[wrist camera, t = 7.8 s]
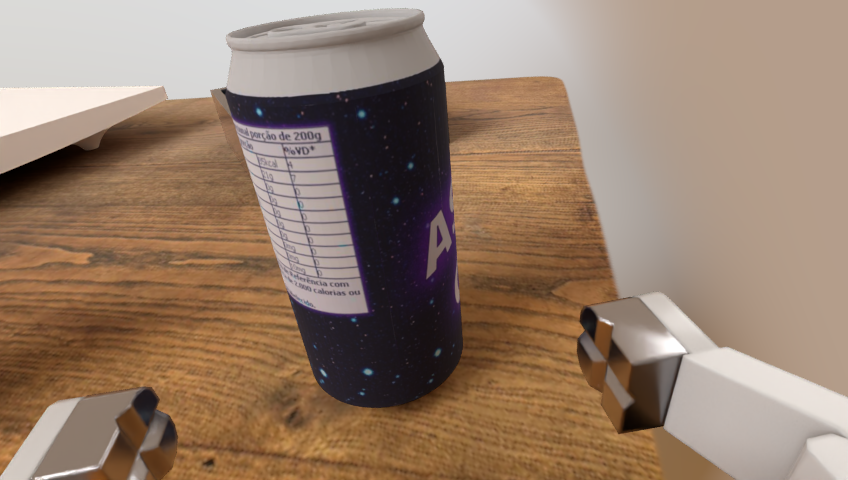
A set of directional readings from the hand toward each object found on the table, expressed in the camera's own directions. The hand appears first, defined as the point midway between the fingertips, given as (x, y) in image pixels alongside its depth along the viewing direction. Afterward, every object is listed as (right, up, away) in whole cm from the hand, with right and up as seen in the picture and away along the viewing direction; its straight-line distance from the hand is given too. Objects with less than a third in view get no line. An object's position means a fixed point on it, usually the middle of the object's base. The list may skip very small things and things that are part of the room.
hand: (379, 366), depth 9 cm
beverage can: (0, -2, +9) cm, 9 cm away
